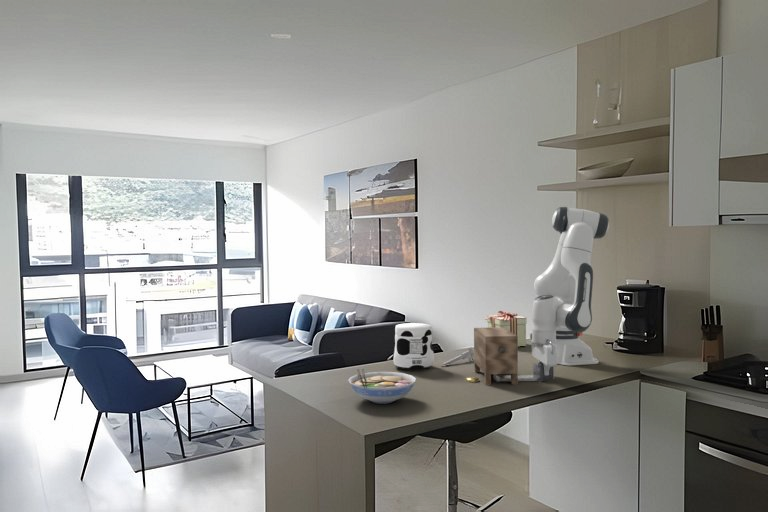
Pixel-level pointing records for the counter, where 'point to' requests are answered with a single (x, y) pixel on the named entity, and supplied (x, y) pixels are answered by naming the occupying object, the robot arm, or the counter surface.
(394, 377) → the ramen bowl
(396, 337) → the milk container
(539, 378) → the scraper
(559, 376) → the counter surface
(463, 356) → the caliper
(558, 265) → the robot arm
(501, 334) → the cabinet
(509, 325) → the gift box
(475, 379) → the token
